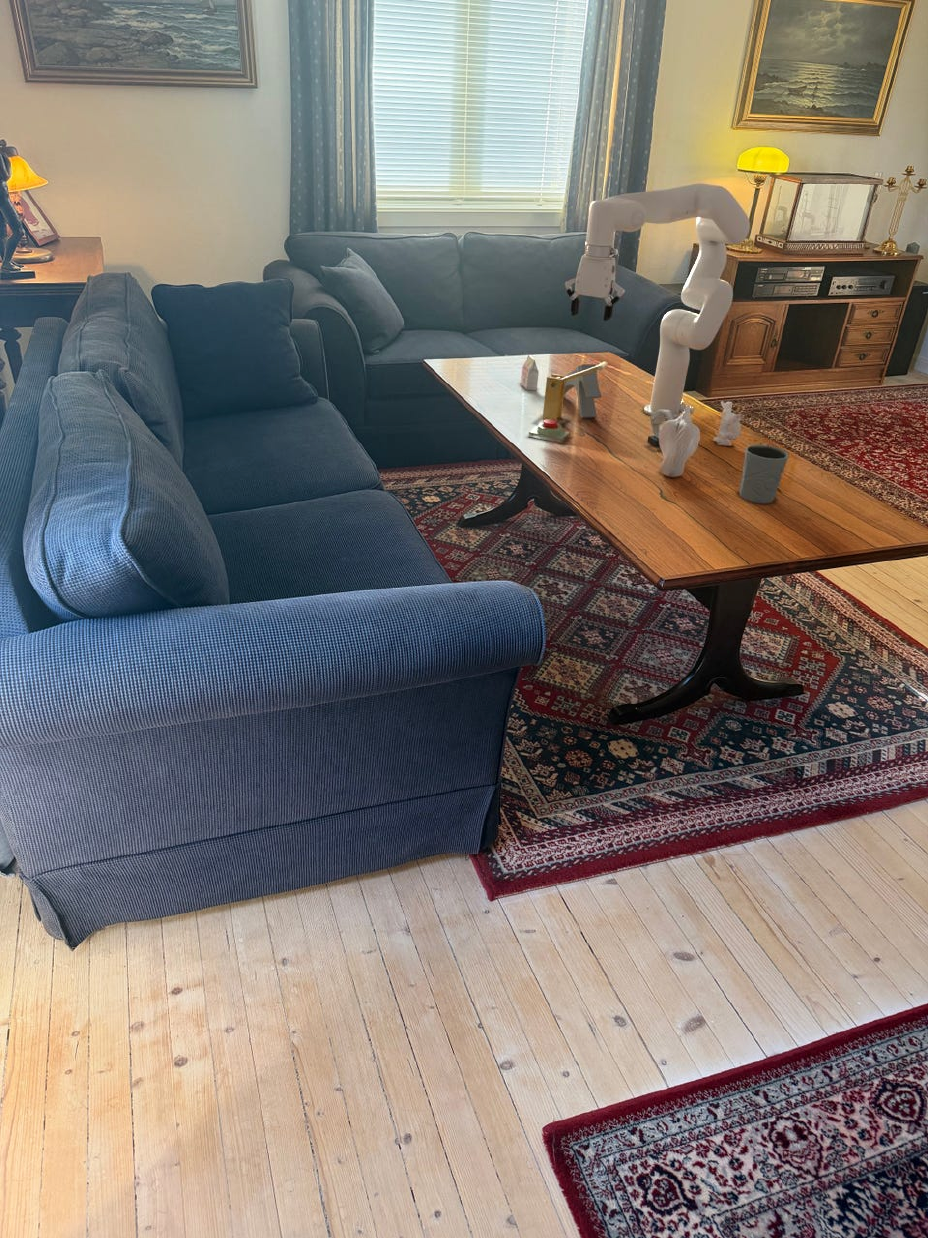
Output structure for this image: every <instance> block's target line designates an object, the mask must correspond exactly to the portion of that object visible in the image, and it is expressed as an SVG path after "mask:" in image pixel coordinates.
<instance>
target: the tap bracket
mask: <svg viewBox="0 0 928 1238" xmlns="http://www.w3.org/2000/svg"><path fill="white" fill-rule="evenodd" d="M557 377H560V378H561V379H559V378H557ZM565 377H566V376H565V375H563V374H557V373H551V374H550V376H547V377H546V383H545V392H544V402H543V411H542V420H546V419H552V420H556V421H557V422H558V419H561V418H562V414H563V405H564V399H565V395H564V391H565V383H566V381H565V382H562V378H565ZM561 384H562V385H561Z"/></svg>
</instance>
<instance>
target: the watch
mask: <svg viewBox="0 0 928 1238" xmlns="http://www.w3.org/2000/svg"><path fill="white" fill-rule="evenodd" d="M649 420H650V427H651V430H652V433H653V435H648V436H647V441H646V442H647V443H648V444H650V445H651V446H653V447H655V448H660V445H659V431H660V426H661V425H662V424H663V423H664V422H666V420H667V421H670V420H675V419H674V415H673V413H672V412H671V411H669V410H664V409H661V410H658V411H656V412H655V413H653V414H652V416H650V417H649Z"/></svg>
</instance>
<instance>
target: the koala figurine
mask: <svg viewBox="0 0 928 1238" xmlns="http://www.w3.org/2000/svg"><path fill="white" fill-rule="evenodd" d="M719 403H720V406H721V407H722V408H723V410H722V412H721V420H720V426H719V428H718V434H717V437H714V438H713V439H712V442H715V443H716V444H717V446H732V445H733V443H732V442H733V441H736V440H738V439H739V438H740V435H741V434H742V427H741V421H742V415H741V414H739V413H738V414H736V413H735V412H732V408H733V402H732V401H726V402H724V400H721V401H720V402H719Z"/></svg>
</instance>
